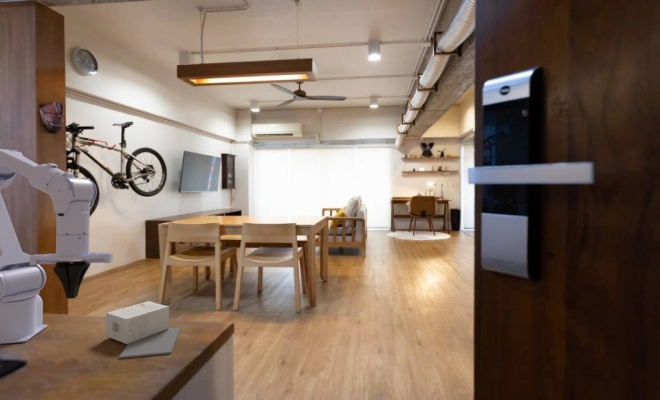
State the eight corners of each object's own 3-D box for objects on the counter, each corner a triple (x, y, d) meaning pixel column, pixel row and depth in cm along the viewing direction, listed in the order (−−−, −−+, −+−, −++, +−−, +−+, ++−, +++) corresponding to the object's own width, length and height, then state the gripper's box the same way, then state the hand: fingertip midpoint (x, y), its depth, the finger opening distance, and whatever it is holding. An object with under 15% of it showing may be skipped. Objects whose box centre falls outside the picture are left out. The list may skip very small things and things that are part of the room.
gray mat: (137, 332, 82) (137, 330, 82) (180, 328, 85) (180, 327, 85) (119, 358, 69) (119, 356, 69) (171, 353, 72) (171, 351, 72)
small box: (125, 345, 74) (169, 329, 84) (126, 318, 74) (170, 305, 84) (105, 337, 78) (149, 322, 88) (105, 312, 78) (149, 300, 88)
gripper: (21, 236, 68) (20, 305, 69) (105, 235, 72) (104, 300, 73) (40, 232, 75) (39, 295, 75) (115, 232, 79) (115, 291, 79)
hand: (72, 297), depth 74 cm, fingers closed
